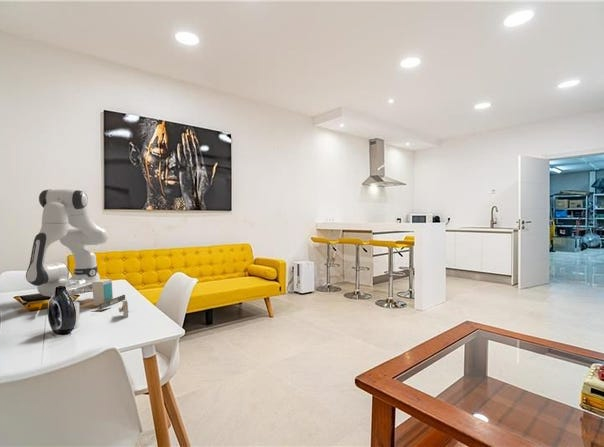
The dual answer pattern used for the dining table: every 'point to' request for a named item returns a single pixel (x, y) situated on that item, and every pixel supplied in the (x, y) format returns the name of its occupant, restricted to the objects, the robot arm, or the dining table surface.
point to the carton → (102, 291)
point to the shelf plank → (89, 304)
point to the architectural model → (124, 308)
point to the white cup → (77, 314)
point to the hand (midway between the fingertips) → (91, 289)
